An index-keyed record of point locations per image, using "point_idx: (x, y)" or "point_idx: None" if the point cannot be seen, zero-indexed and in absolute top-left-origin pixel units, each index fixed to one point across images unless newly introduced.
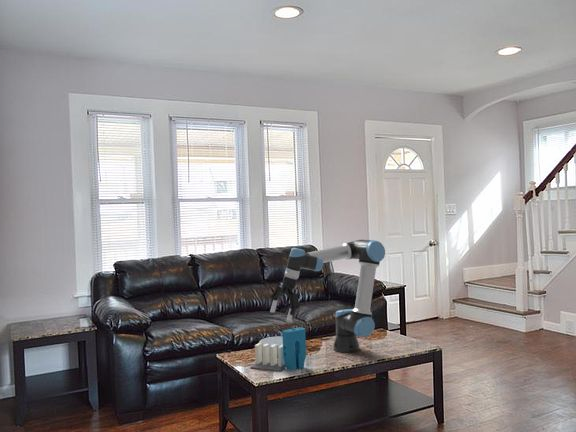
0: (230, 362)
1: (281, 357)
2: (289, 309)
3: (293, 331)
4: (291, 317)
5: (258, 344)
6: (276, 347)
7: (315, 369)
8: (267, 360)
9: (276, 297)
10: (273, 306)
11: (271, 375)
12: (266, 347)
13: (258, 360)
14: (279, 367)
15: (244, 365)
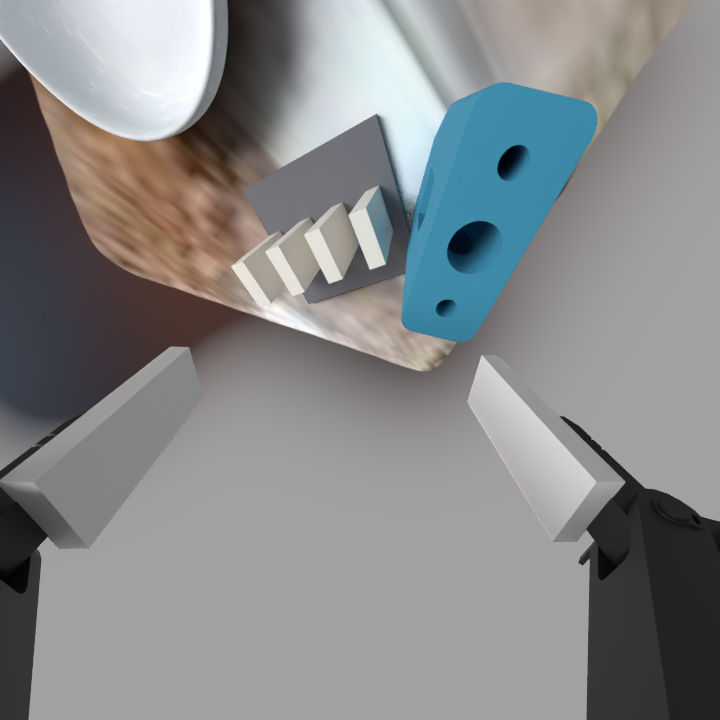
0: (212, 294)
1: (388, 238)
2: (543, 517)
3: (499, 291)
4: (517, 385)
5: (256, 288)
6: (326, 229)
7: None
8: None
9: (21, 635)
10: (155, 436)
11: None
12: (300, 274)
13: None
14: (394, 244)
15: None
